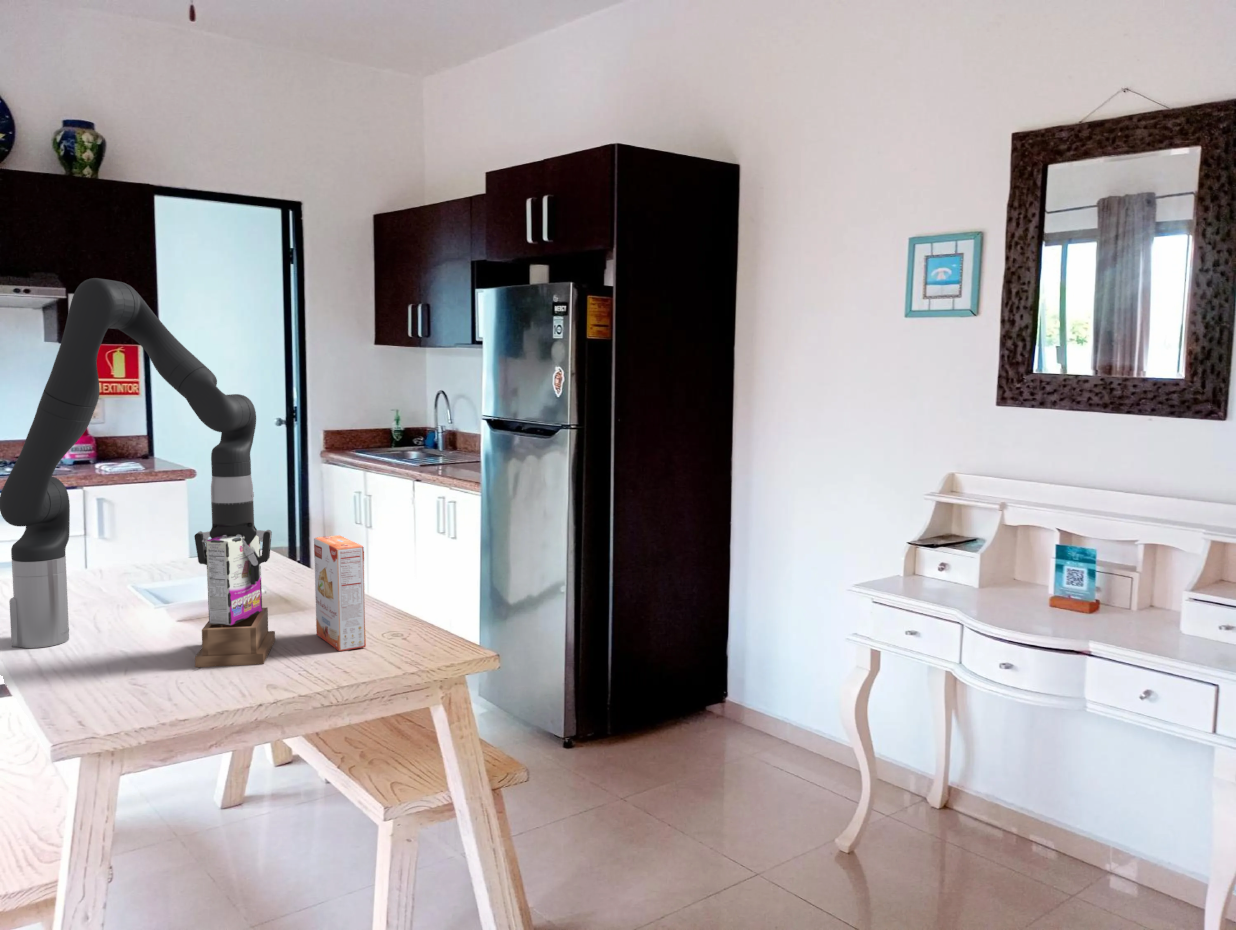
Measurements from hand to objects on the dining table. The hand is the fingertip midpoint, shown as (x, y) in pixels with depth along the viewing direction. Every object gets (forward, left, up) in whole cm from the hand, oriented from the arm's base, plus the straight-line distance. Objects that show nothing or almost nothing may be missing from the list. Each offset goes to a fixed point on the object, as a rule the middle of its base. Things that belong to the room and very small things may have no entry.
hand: (235, 584), depth 187 cm
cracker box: (+19, +5, -14) cm, 24 cm away
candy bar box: (0, 0, -7) cm, 7 cm away
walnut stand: (0, 0, -14) cm, 14 cm away
